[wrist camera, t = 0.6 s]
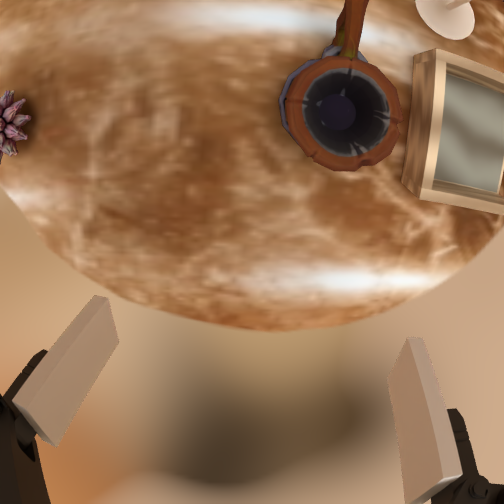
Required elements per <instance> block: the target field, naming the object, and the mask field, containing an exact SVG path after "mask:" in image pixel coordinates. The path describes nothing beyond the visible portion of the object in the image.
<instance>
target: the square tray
mask: <svg viewBox="0 0 504 504" xmlns="http://www.w3.org/2000/svg"><path fill="white" fill-rule="evenodd" d="M503 170H504V73H501V72H499V71H497V70H495V69H492V68H490V67H487V66H485V65H483V64H480V63H477V62H475V61H472V60H470V59H467V58H464V57H461V56H459V55H456V54H453V53H450V52H447V51H444V50H440V49H437V48H435V49H432V50H429V51H426V52H423V53H420V54H417V55H414V66H413V84H412V98H411V109H410V119H409V128H408V137H407V145H406V152H405V159H404V166H403V172H402V178H401V183H402V184H403V185H404V186H406V187H407V188H408V189H409V190H410V191H411V192H412V193H413V194H414V195H415V196H416V197H418V198H419V199H421V200H427V201H433V202H439V203H444V204H450V205H455V206H460V207H466V208H471V209H476V210H481V211H485V212H490V213H495V214H499V215H504V198H503V197H502V196H500V195H499V189H500V185H501V180H502V175H503Z"/></svg>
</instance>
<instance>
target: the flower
mask: <svg viewBox="0 0 504 504" xmlns="http://www.w3.org/2000/svg"><path fill="white" fill-rule="evenodd" d="M14 92H15V91H13V90H12V91H11V92H10V91H7V90H6V92H5V94H4V95H3V96H2V97H1V98H0V164H1V159H2V156H3V152H4V153H5V154H8V155H9V156H10V157H11V156H12V155H13V154H14V155H16V154H17V153H18V151H17V149H16V142H15V141H18V140H21V139H25V140H27V137H28V135H26V134H25V133H24V131H23V130H22V129H21V128H19V127H22V126H23V125H24V124H25V123H26V122H28V121H30V120H31V116H29V115H23V114H18V113H19V111H20V110H21V107H22V105H23V104H24V103H25V101H26V99H24V98H23V99H22V100H20V101H18V102H15V103H13V96H14Z"/></svg>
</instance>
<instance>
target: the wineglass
mask: <svg viewBox="0 0 504 504" xmlns="http://www.w3.org/2000/svg"><path fill="white" fill-rule="evenodd" d="M469 1H471V0H415V2H416V7H417V9H418V12H419V14H420V16H421V17H422V19H423V20H424V21H425V23H426V24H427V25H428V26H429V27H430V28H431V29H432V30H434V31H435V32H436V33H437V34H439V35H441V36H443V37H445V38H449V39H453V40H459V39H464V38H466V37H467V36H469V35H470V34H471V32H472V31H473V29H474V23H475V19H474V13H473V10H472V8H471V5H470V3H469ZM502 1H503V2H504V0H502Z"/></svg>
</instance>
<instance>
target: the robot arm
mask: <svg viewBox="0 0 504 504" xmlns="http://www.w3.org/2000/svg"><path fill="white" fill-rule="evenodd" d="M118 343H119V339H118V336H117V331H116V328H115V324H114V320H113V317H112V312H111V308H110V304H109V299H108V298H106V297H101V296H97V295H94V296H93V298H92V299H91V300H90V301H89V302H88V303H87V305H86V306H85V307H84V308H83V309H82V311H81V312H80V313H79V314H78V315H77V317H76V318H75V319H74V320H73V321H72V323H71V324H70V325H69V326H68V327H67V329H66V330H65V331H64V332H63V334H62V335H61V336H60V337H59V339H58V340H57V341H56V342H55V343H54V345H53V346H52V347H51V349H50V350H49V351H46V350H44V349H43V350H41V351H40V352H39V353H37V354H36V355H34V356H33V357H32V359H31V360H30V361H29V363H28V364H27V366H25V368H24V369H23V370H22V373H20V374H19V376H18V377H17V378H16V379H15V381H14V382H13V383H12V385H11V386H10V388H9V389H8V391H7V392H6V393H5V394H4V396H3V397H2V396H1V394H0V504H51V502H50V499H49V496H48V492H47V488H46V484H45V480H44V477H43V472H42V468H41V463H40V458H39V453H38V448H37V443H36V440H35V438H34V437H35V435H36V433H37V434H38V435H39V436H40V437H41V439H42V440H43V441H45V442H47V443H49V444H51V445H53V446H55V447H57V446H58V445H59V443H60V441H61V439H62V437H63V435H64V434H65V432H66V430H67V428H68V427H69V425H70V423H71V421H72V420H73V418H74V416H75V414H76V413H77V411H78V409H79V408H80V406H81V404H82V402H83V401H84V399H85V397H86V396H87V393H88V392H89V391H90V389H91V387H92V385H93V384H94V382H95V381H96V379H97V377H98V376H99V374H100V372H101V371H102V369H103V367H104V366H105V364H106V363H107V361H108V359H109V358H110V356H111V355H112V353H113V351H114V350H115V348H116V347H117V345H118ZM387 381H388V387H389V392H390V397H391V402H392V408H393V414H394V419H395V426H396V432H397V439H398V446H399V453H400V460H401V468H402V478H403V486H404V498H405V504H423V503H425V502H426V501H428V500H429V499H430V498H431V504H504V485H502V484H501V485H500V484H491V483H489V482H488V480H487V479H486V478H485V477H484V476H481V475H479V473H478V470H477V466H476V462H475V458H474V454H473V450H472V447H471V443H470V440H469V436H468V432H467V431H466V425H465V422H464V419H463V417H462V416H461V414H460V413H459V412H458V410H457V409H446V406H445V402H444V399H443V396H442V393H441V389H440V386H439V383H438V380H437V377H436V374H435V371H434V368H433V365H432V362H431V360H430V357H429V354H428V351H427V348H426V346H425V344H424V340H423V338H416V337H407V339H406V341H405V344H404V346H403V348H402V350H401V352H400V354H399V357H398V358H397V360H396V362H395V364H394V367H393V368H392V370H391V372H390V374H389V376H388V378H387Z"/></svg>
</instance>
